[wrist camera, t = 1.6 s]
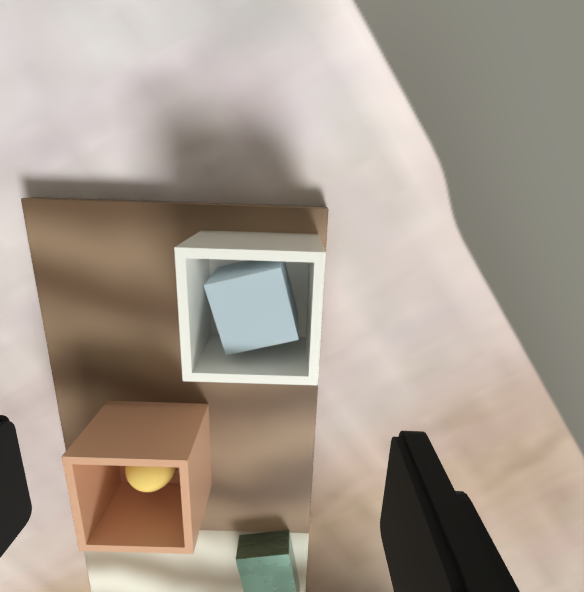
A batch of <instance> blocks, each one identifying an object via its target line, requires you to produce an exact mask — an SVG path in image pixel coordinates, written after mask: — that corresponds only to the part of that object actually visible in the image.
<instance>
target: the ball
mask: <svg viewBox="0 0 584 592" xmlns="http://www.w3.org/2000/svg"><path fill="white" fill-rule="evenodd" d="M175 469H176V467H146V466H126V467H125V473H126V477H127V480H128V482H129V483H130V485H131V486H132V487H133V488H135V489H136V490H138V491H141V492H154V491H157V490H159V489H161V488H162V487H164V486H165V485H166V484H167V483H168V482H169V481H170V480H171V478H172V477H173V475H174V472H175Z"/></svg>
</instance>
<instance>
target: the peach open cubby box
mask: <svg viewBox="0 0 584 592" xmlns="http://www.w3.org/2000/svg"><path fill="white" fill-rule="evenodd" d="M62 461H63V466H64V472H65V477H66V483H67V488H68V493H69V499H70V504H71V510H72V515H73V521H74V526H75V531H76V537H77V542H78V548H79V551H105V552H139V553H174V554H194V550H195V546H196V542H197V539H198V535H199V531H200V527H201V523H202V520H203V516H204V512H205V508H206V504H207V501H208V497H209V493H210V489H211V486H212V479H211V454H210V429H209V404H197V403H164V402H132V401H107V402H106V403H105V404H104V406H103V407H102V408H101V409H100V410H99V412H98V413H97V414H96V415H95V417H94V418H93V419H92V420H91V421H90V423H89V424H88V425H87V426H86V428H85V429H84V430H83V431H82V432H81V434H80V435H79V436H78V437H77V439H76V440H75V441H74V442H73V443H72V445H71V446H70V447H69V448H68V450H67V451H66V452H65V453H64V454H63V456H62ZM126 466H146V467H176V469H175V472H174V475H173V477H172V478H171V480H170V481H169V482H168V483H167V484H166V485H165V486H164V487H162V488H161V489H159V490H157V491H154V492H141V491H138V490H136V489H135V488H133V487H132V486H131V485H130V483H129V482H128V480H127V477H126V473H125V467H126Z"/></svg>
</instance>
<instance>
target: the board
mask: <svg viewBox="0 0 584 592" xmlns="http://www.w3.org/2000/svg"><path fill="white" fill-rule="evenodd" d="M21 202H22V207H23V213H24V219H25V224H26V230H27V235H28V241H29V247H30V252H31V258H32V263H33V269H34V274H35V280H36V286H37V291H38V297H39V302H40V308H41V314H42V319H43V325H44V330H45V336H46V342H47V347H48V353H49V358H50V364H51V369H52V375H53V381H54V386H55V392H56V397H57V403H58V409H59V414H60V420H61V425H62V431H63V437H64V442H65V448H66V451H67V450H68V448H69V447H70V446H71V445H72V443H73V442H74V441H75V440H76V439H77V437H78V436H79V435H80V434H81V432H82V431H83V430H84V429H85V428H86V426H87V425H88V424H89V423H90V421H91V420H92V419H93V418H94V417H95V415H96V414H97V413H98V412H99V410H100V409H101V408H102V407H103V406H104V404H105V403H106V402H107V401H132V402H164V403H197V404H209V429H210V454H211V479H212V486H211V489H210V493H209V497H208V501H207V504H206V508H205V512H204V516H203V520H202V523H201V527H200V531H199V535H198V539H197V542H196V546H195V550H194V554H174V553H139V552H105V551H84V552H85V557H86V563H87V568H88V574H89V580H90V585H91V591H92V592H244V590H243V587H242V583H241V579H240V575H239V571H238V567H237V563H236V553H237V546H238V540H239V535H245V534H254V533H264V532H273V531H283V530H289V531H290V536H291V541H292V546H293V551H294V557H295V562H296V567H297V572H298V577H299V583H300V592H305V590H306V573H307V557H308V540H309V524H310V508H311V491H312V474H313V457H314V441H315V424H316V407H317V391H318V385H288V384H256V383H224V382H192V381H183V379H182V363H181V347H180V331H179V315H178V299H177V283H176V267H175V251H174V247H176V246H177V245H179V244H180V243H182V242H184V241H185V240H187V239H188V238H190V237H192V236H193V235H195V234H196V233H198V232H200V231H201V230H209V231H240V232H270V233H300V234H319V237H320V239H321V242H322V244H323V247H324V249H325V252H326V240H327V224H328V208H327V207H310V206H280V205H250V204H220V203H190V202H160V201H130V200H100V199H70V198H40V197H32V198H22V199H21ZM325 257H326V256H325ZM324 274H325V273H324ZM323 290H324V289H323ZM322 307H323V306H322ZM321 324H322V323H321ZM320 341H321V339H320ZM319 357H320V356H319ZM318 374H319V373H318Z"/></svg>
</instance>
